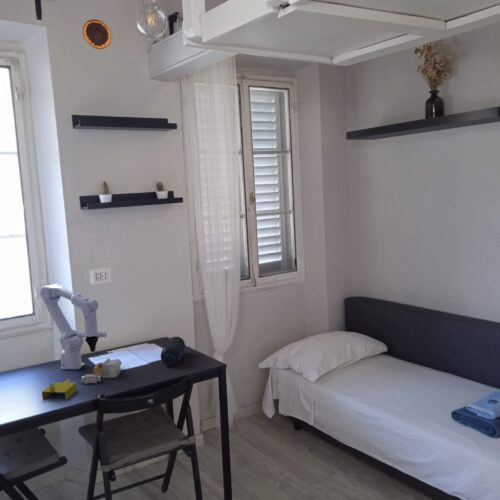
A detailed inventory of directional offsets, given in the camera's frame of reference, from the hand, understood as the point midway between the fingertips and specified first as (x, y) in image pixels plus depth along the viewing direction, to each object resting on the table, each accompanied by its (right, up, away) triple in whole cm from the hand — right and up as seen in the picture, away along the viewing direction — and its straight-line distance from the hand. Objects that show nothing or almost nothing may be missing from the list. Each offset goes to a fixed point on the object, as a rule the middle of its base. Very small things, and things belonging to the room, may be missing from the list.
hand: (93, 351), depth 261 cm
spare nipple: (+4, -11, -17) cm, 21 cm away
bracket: (-5, -14, -29) cm, 32 cm away
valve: (+8, -10, -8) cm, 15 cm away
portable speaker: (+39, -7, +10) cm, 40 cm away
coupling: (+12, -9, -6) cm, 16 cm away
